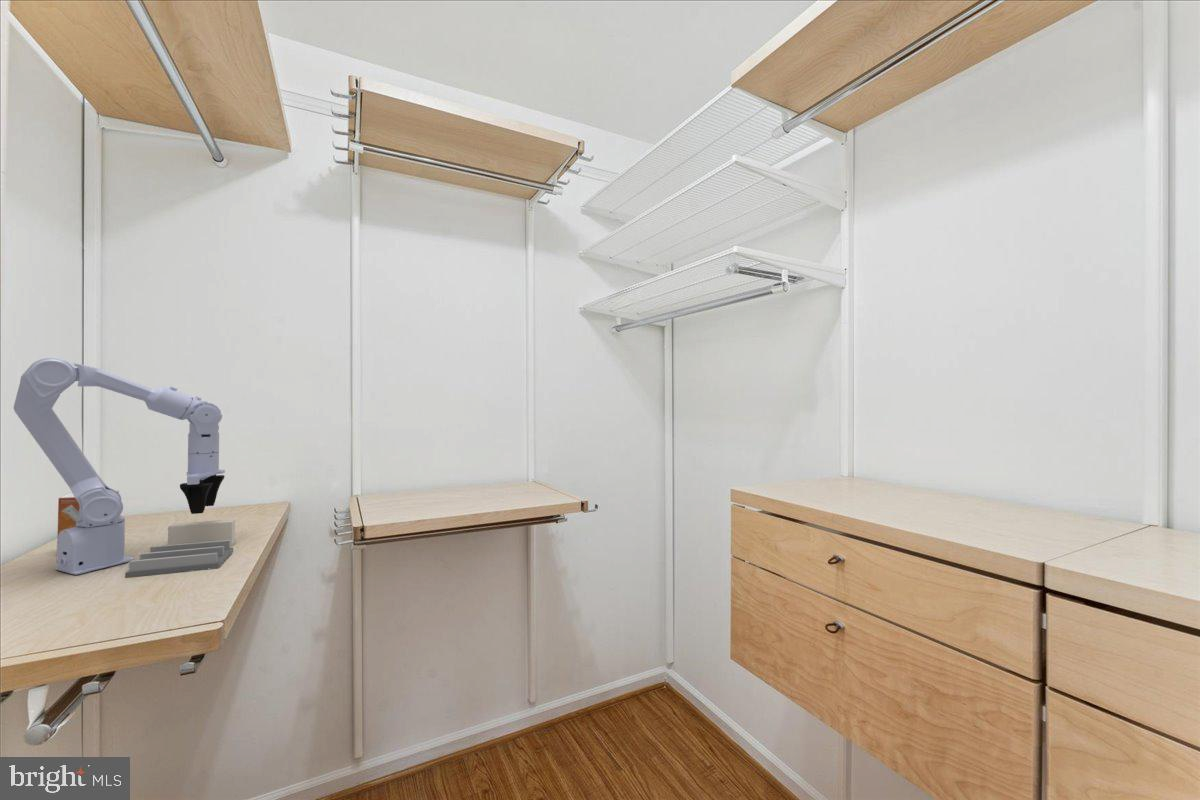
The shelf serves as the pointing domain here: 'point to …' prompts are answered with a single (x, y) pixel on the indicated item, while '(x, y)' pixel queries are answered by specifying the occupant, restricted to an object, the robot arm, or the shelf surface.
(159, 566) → the ridged grey tray
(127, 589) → the shelf surface
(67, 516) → the small box
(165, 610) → the shelf surface
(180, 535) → the long beige block
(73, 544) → the robot arm
